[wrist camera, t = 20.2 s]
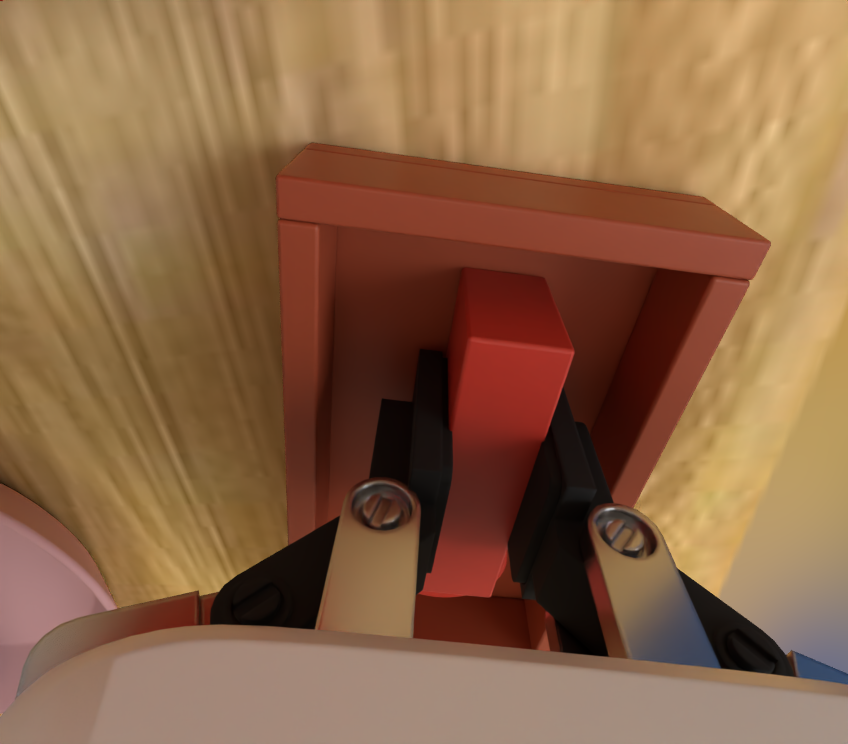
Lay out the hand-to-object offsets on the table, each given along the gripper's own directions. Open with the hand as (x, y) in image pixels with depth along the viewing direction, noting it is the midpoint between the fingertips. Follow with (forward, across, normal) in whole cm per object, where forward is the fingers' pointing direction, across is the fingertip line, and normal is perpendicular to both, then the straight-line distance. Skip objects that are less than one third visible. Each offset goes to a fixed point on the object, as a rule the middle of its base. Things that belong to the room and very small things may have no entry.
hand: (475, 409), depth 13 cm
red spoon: (0, 0, +2) cm, 2 cm away
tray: (+1, 0, +2) cm, 2 cm away
